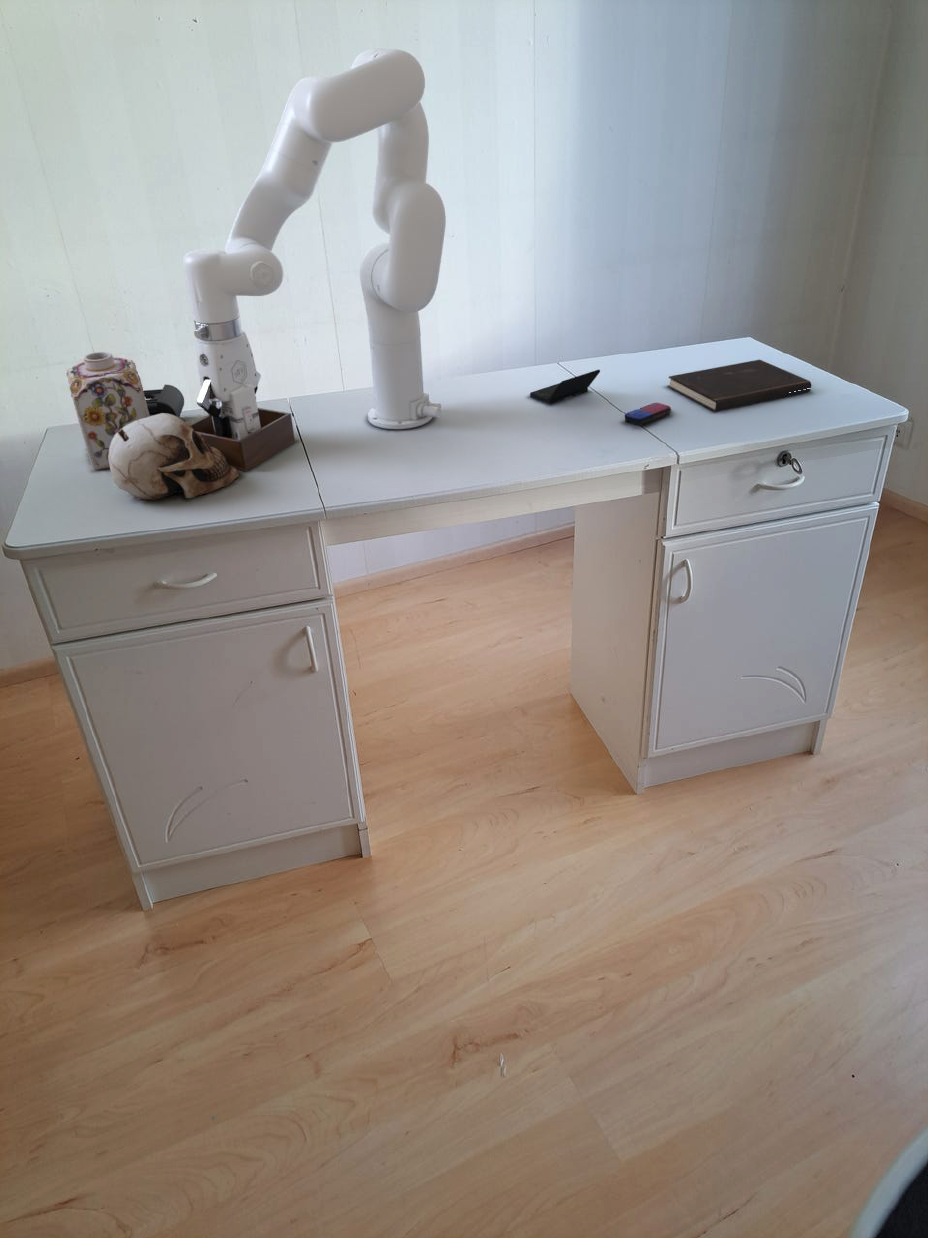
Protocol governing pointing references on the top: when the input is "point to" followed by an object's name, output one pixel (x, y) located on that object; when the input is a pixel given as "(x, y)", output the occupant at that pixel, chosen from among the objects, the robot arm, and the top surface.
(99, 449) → the decorative jar
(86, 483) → the top surface
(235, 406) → the ink box
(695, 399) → the hardcover book
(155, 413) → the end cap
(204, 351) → the robot arm
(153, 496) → the coin bank
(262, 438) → the desk box
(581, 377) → the handheld gaming console
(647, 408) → the eraser
